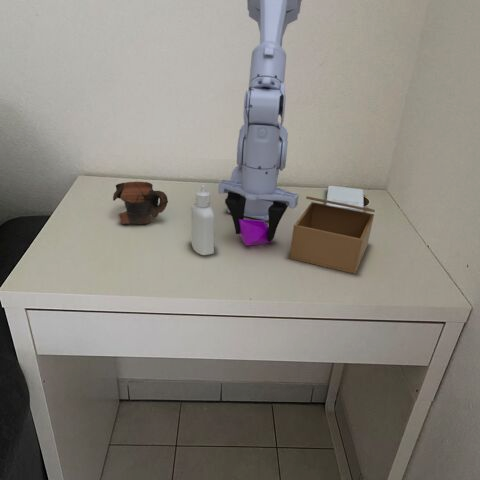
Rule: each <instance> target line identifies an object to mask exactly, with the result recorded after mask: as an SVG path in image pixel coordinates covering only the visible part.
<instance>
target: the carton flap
mask: <svg viewBox="0 0 480 480" xmlns="http://www.w3.org/2000/svg"><path fill="white" fill-rule="evenodd" d="M305 199H307V200H310V201H315V202H321V203H324V204H326V203H330V204H335V205H340V206H345V207H350V208H355V209H360V210H364V211H366V212H371V213H375V211H376V209H373V208H370V207H369V208H368V207H359V206H354V205H349V204H343V203H338V202H333V201H328V200H327V199H323V198H317V197H312V196H308V195H307V196H305Z"/></svg>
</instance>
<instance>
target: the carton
mask: <svg viewBox="0 0 480 480" xmlns="http://www.w3.org/2000/svg"><path fill="white" fill-rule="evenodd" d="M374 217H375V214H374V213H370V212H365V211H364V212H360V211H355V210H350V209H345V208H340V207H335V206H329V205H326V204H325V203H319V202H314V201H311V202H310V204H309V205H308V206H307V207H306V208H305V210H304V212H303V213H302V214H301V215H300V217H299V218H298V219H297V221H295V223H294V224H293V229H292V230H293V231H292V235H291V244H290V253H289V259H290V260H295V261H299V262H302V263H307V264H312V265H316V266H320V267H325V268H329V269H333V270H337V271H341V272H345V273H349V274H353V275H355V274H356V273H357V270H358V268H359V265H360V264H361V261H362V259H363V257H364V254H365V253H366V250H367V247H368V244H369V240H370V235H371V230H372V226H373V222H374Z"/></svg>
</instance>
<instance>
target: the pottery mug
mask: <svg viewBox="0 0 480 480" xmlns="http://www.w3.org/2000/svg"><path fill="white" fill-rule="evenodd" d="M153 186H154V185H153V184H152V183H151V182H148V181H126V182H121V183H117V184H115V189H116V190H115V192H113V196H112V200H113V202H115V201H116V200H117V199H119V200H121V201H123V202H124V206H125V209H126V210H125V211H123V212H119V214H118V217H119V221H120V224H121V225H129V224H130V225H131V224H135V225H141V224H143V225H149V224H150V219H151V216H152V218H154V219H155V218H157V217H158V215H159V214H161V213H162V212H164V211H165V210H166V208H167V206H168V203H169V200H168V195H167V194H166V193H165V192H164V191H162V190H154V189H153Z"/></svg>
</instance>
